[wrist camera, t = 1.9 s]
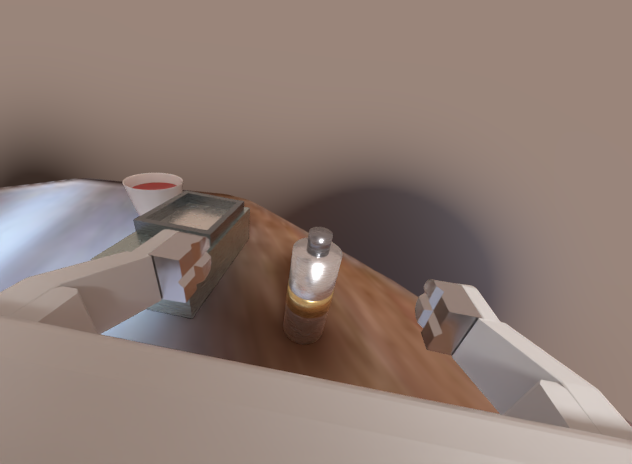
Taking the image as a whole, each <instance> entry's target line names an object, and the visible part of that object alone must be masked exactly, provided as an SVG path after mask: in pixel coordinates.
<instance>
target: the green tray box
mask: <svg viewBox="0 0 632 464" xmlns="http://www.w3.org/2000/svg"><path fill="white" fill-rule="evenodd" d="M249 214H250V208H247V207H244V201H239V200H233V199H228V198H223V197H218V196H212V195H207V194H202V193H197V192H191V191H184V192H182V193H180V194H179V195H177V196H175V197H173V198H171V199H170V200H168V201H166V202H164V203H163V204H161V205H159V206H157V207H155V208H154V209H152V210H150V211H148V212H146V213H145V214H143V215H141V216H139V217H137V218H136V219H134V220H133V221H134V224H135V228H136V232H134V233H132V234H131V235H129V236H127V237H126V238H124V239H123V240H121V241H119V242H118V243H116V244H115V245H113V246H111V247H110V248H108V249H107V250H105V251H103V252H102V253H100V254H98V255H97V256H95V257H94V258H92V259H91V260H95V259H99V258H103V257H106V256H110V255H114V254H118V253H121V252H125V251H129V252H132V251H133V250H135V249H136V248H138V247H139V246H140V245H142V244H143V243H145V242H146V241H148V240H149V239H151V238H152V237H154V236H155V235H156V234H158V233H159V232H161V231H162V230H165V229H170V230H175V231H179V232H185V233H190V234H195V235H199V236H204V237H207V238H208V239H209V242H210V248H209V249H208V250H207V253H208V254H209V255H210V256H211V269H210V271H209V274H208V276H207V277H206V279H205V280H204V281H203V282H201V283H198V284H196V286H197V290H196V291H195V293H194V294H193V295H192V296H191V298H190V299H189V300H188V301H187V302H186V303H183V302H177V301H171V300H165V299H162V300H161V301H159V302H158V303H156V304H154V305H152V306H150V307H148V308H147V310H152V311H157V312H162V313H167V314H172V315H177V316H182V317H187V318H193V317H194V315H195V314H196V313H197V311H198V310H199V308H200V307H201V306H202V304H203V303H204V301H205V300H206V298H207V297H208V296H209V294H210V293H211V291H212V290H213V289H214V287H215V286H216V284H217V283H218V282H219V280H220V279H221V277H222V276H223V274H224V273H225V272H226V270H227V269H228V267H229V266H230V265H231V263H232V262H233V260H234V259H235V258H236V256H237V255H238V253H239V252H240V251H241V249H242V248H243V246H244V245H245V243H246V242H247V241H248V239H249Z"/></svg>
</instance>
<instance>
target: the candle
mask: <svg viewBox="0 0 632 464" xmlns="http://www.w3.org/2000/svg"><path fill="white" fill-rule="evenodd" d="M123 185H124V187H125V189H126V191H127V193H128V195H129V197H130V199H131V201H132V203H133V205H134V207H135V209H136V211H137V213H138V215H139V216H141V215H143V214H145V213H146V212H148V211H150V210H152V209H154V208H155V207H157V206H159V205H161V204H163V203H164V202H166V201H168V200H170V199H171V198H173V197H175V196H177V195H179V194H180V193H182V188H183V180H182V178H181V177H179V176H176V175H173V174H167V173H142V174H136V175H132V176H129V177H127V178H125V179H124V180H123Z"/></svg>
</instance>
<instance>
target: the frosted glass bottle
mask: <svg viewBox="0 0 632 464" xmlns="http://www.w3.org/2000/svg"><path fill="white" fill-rule="evenodd" d="M332 237H333V234H332V232H331V231H330V230H328V229H326V228H323V227H314V228H311V229H310V231H309V237H308V238H303V239H300V240H298V241H297V242H296V243H295V244H294V246H293V251H292V259H291V267H290V275H289V280H288V287H287V295H286V306H285V314H284V322H283V329H284V332H285V334H286V336H287V337H288V338H289V339H290V340H292V341H293V342H296V343H298V344H311V343H313V342H315V341H317V340H318V339H319V338H320V337H321V335H322V333H323V329H324V325H325V321H326V317H327V314H328V310H329V307H330V304H331V300H332V296H333V292H334V286H335V282H336V279H337V275H338V271H339V267H340V263H341V259H342V251H341V250H340V248H339V247H338V246H337V245H335V244H334V243H333V242H331V241H332Z"/></svg>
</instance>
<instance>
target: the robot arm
mask: <svg viewBox="0 0 632 464" xmlns="http://www.w3.org/2000/svg"><path fill="white" fill-rule="evenodd" d="M209 248H210V242H209V239H208V238H207V237H204V236H199V235H195V234H190V233H185V232H179V231H175V230H170V229H165V230H162V231H161V232H159V233H158V234H156V235H155V236H154V237H152V238H151V239H149V240H148V241H146V242H145V243H143V244H142V245H140V246H139V247H138V248H136V249H135V250H133V251H132V252H129V251H125V252H121V253H118V254H114V255H110V256H106V257H103V258H99V259H95V260H91V261H88V262H84V263H80V264H76V265H73V266H69V267H65V268H61V269H58V270H54V271H50V272H46V273H43V274H39V275H35V276H31V277H28V278H26V279H24V280H22V281H20V282H18V283H16V284H15V285H13V286H11V287H9V288H7V289H5V290H4V291H2V292H0V464H632V427H631V426H630V425H629V424H628V423H627V422H626V421H625V419H624V418H623V417H622V416H621V415H620V414H619V413H618V411H617V410H616V409H615V408H614V407H613V406H612V405H611V404H610V402H609V401H608V400H607V399H606V398H605V397H604V396H603V394H602V393H601V392H600V391H599V390H598V389H597V388H595V387H594V386H593V385H591V384H590V383H588V382H587V381H585V380H584V379H583V378H581V377H580V376H578V375H577V374H576V373H574V372H573V371H571V370H570V369H569V368H567V367H566V366H564V365H563V364H562V363H560V362H559V361H557V360H556V359H555V358H553V357H552V356H550V355H549V354H547V353H546V352H545V351H543V350H542V349H541V348H539V347H538V346H536V345H535V344H534V343H532V342H531V341H529V340H528V339H527V338H525V337H524V336H522V335H521V334H520V333H518V332H517V331H515V330H514V329H513V328H511V327H510V326H508V325H507V324H506V323H501V322H500V321H499V320H498V318H497V317H496V315H495V314H494V313H493V311H492V310H491V308H490V307H489V306H488V304H487V303H486V301H485V300H484V299H483V297H482V296H481V294H480V293H479V292H478V290H477V289H476V288H475V287H473V286H469V285H462V284H454V283H449V282H443V281H437V280H432V279H429V280H428V281H427V282H426V284H425V286H424V290H425V293H424V294H423V295H421V296H419V298H418V300H417V302H416V308H415V314H416V319H417V322H418V323H419V324H420V325H421V326H422V327H423V330H422V332H421V334H422V337H423V340H424V343H425V346H426V349H427V350H430V351H434V352H439V353H443V354H448V355H452V358H453V359H454V360H455V361H456V362H457V363H458V365H459V366H460V367H461V368H462V369H463V370H464V372H465V373H466V374H467V375H468V376H469V378H470V379H471V380H472V381H473V382H474V383H475V385H476V386H477V387H478V388H479V389H480V390H481V392H482V393H483V394H484V395H485V396H486V398H487V399H488V400H489V401H490V402H491V403H492V405H493V406H494V407H495V408H496V409H497V410H498V412H499V413H500V414H496V413H491V412H486V411H481V410H476V409H471V408H466V407H461V406H456V405H451V404H446V403H441V402H436V401H431V400H426V399H421V398H416V397H411V396H406V395H401V394H396V393H391V392H386V391H381V390H376V389H371V388H366V387H361V386H355V385H350V384H345V383H340V382H335V381H330V380H325V379H320V378H315V377H310V376H305V375H300V374H295V373H290V372H285V371H280V370H275V369H270V368H265V367H260V366H255V365H250V364H245V363H240V362H235V361H230V360H225V359H220V358H215V357H210V356H205V355H200V354H195V353H190V352H185V351H180V350H175V349H170V348H165V347H160V346H155V345H150V344H145V343H140V342H135V341H130V340H125V339H120V338H115V337H110V336H105V335H100V334H101V333H103V332H105V331H107V330H109V329H110V328H112V327H114V326H116V325H118V324H120V323H121V322H123V321H125V320H127V319H129V318H130V317H132V316H134V315H136V314H138V313H139V312H141V311H143V310H145V309H147V308H148V307H150V306H152V305H154V304H156V303H158V302H159V301H161V300H162V299H165V300H171V301H177V302H183V303H186V302H187V301H188V300H189V299H190V298H191V296H192V295H193V294H194V293H195V291H196V290H197V286H196V284H198V283H201V282H203V281H204V280H205V279H206V277H207V276H208V274H209V271H210V269H211V256H210V255H209V254H208V253H207V250H208V249H209Z"/></svg>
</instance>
